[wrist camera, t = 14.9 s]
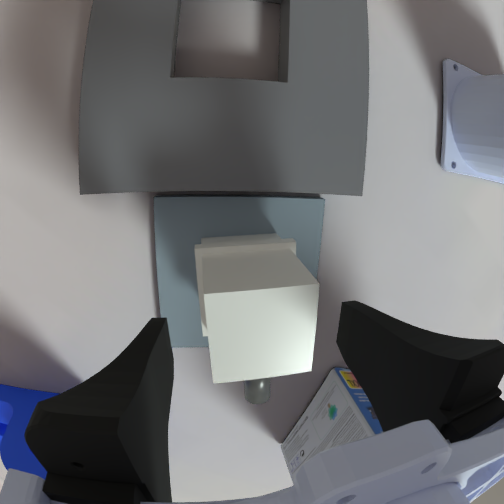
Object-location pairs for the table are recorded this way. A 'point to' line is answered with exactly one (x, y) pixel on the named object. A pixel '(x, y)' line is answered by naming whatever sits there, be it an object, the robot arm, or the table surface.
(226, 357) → the plug
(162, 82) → the grey panel
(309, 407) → the ink cartridge box
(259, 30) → the table surface
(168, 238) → the mat
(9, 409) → the bracket
